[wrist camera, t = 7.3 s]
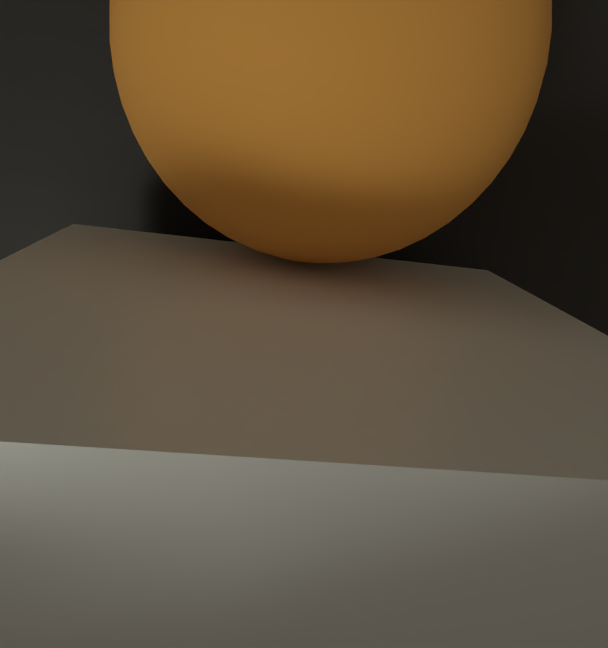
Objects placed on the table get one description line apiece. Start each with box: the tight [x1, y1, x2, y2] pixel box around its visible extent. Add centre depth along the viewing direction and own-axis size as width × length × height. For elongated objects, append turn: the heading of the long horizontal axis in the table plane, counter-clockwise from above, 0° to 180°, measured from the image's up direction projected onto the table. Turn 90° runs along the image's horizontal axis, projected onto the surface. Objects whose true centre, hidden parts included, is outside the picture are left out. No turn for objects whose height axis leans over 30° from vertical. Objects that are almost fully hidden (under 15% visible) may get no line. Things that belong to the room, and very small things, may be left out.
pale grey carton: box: [0, 224, 608, 648], centre depth 7 cm, size 6×8×6 cm
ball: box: [110, 0, 552, 263], centre depth 7 cm, size 5×5×5 cm
